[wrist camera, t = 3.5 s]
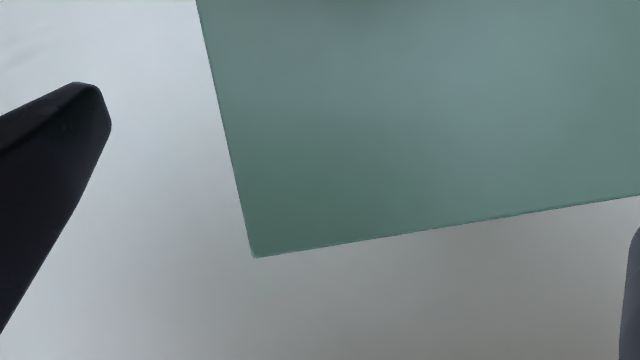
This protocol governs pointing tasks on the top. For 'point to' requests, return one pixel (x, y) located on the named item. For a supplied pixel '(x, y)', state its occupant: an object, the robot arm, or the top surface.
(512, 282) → the top surface
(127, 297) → the top surface
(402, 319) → the top surface
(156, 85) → the top surface
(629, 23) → the tote bag
